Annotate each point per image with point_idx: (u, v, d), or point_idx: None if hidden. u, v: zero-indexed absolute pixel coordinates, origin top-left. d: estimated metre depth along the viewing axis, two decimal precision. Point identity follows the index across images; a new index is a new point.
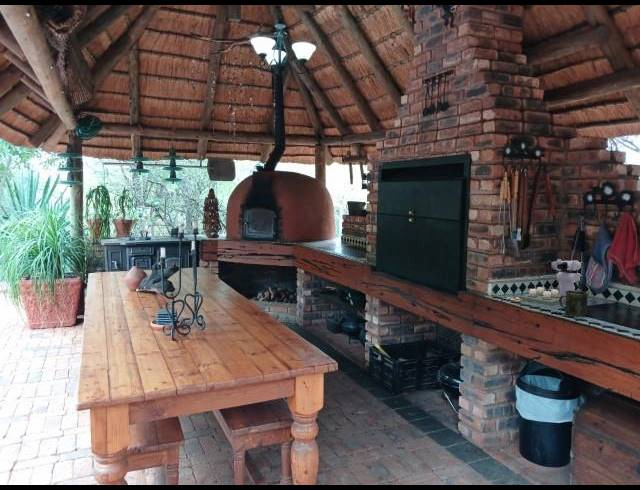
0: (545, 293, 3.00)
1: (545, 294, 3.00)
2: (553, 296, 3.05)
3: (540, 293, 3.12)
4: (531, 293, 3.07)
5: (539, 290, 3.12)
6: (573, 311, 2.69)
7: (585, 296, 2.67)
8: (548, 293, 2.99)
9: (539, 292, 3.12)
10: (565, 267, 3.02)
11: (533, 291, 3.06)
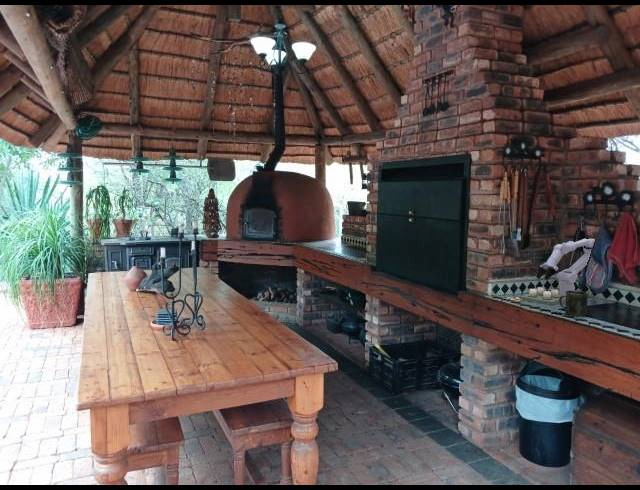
0: (545, 293, 3.00)
1: (545, 294, 3.00)
2: (553, 296, 3.05)
3: (540, 293, 3.12)
4: (531, 293, 3.07)
5: (539, 290, 3.12)
6: (573, 311, 2.69)
7: (585, 296, 2.67)
8: (548, 293, 2.99)
9: (539, 292, 3.12)
10: (553, 271, 3.04)
11: (533, 291, 3.06)
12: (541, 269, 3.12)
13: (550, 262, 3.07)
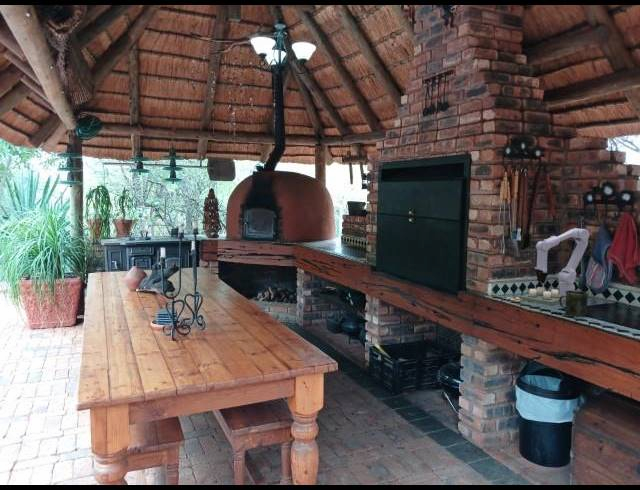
0: (545, 293, 3.00)
1: (545, 294, 3.00)
2: (553, 296, 3.05)
3: (540, 293, 3.12)
4: (531, 293, 3.07)
5: (539, 290, 3.12)
6: (573, 311, 2.69)
7: (585, 296, 2.67)
8: (548, 293, 2.99)
9: (539, 292, 3.12)
10: None
11: (533, 291, 3.06)
12: (538, 272, 3.16)
13: (539, 265, 3.10)
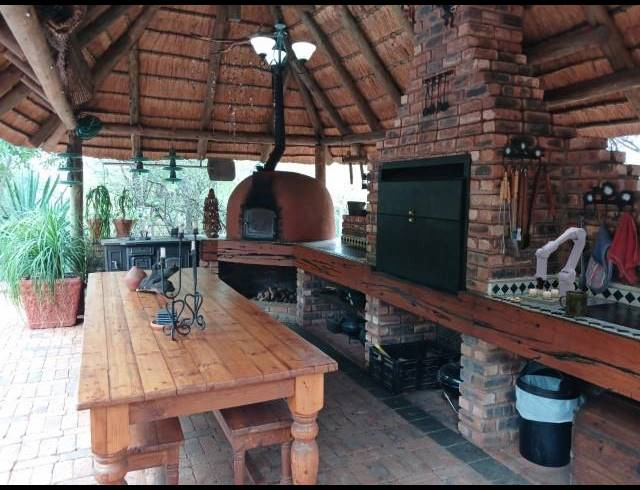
0: (545, 293, 3.00)
1: (545, 294, 3.00)
2: (553, 296, 3.05)
3: (540, 295, 3.12)
4: (531, 293, 3.07)
5: (539, 292, 3.12)
6: (573, 311, 2.69)
7: (585, 296, 2.67)
8: (548, 293, 2.99)
9: (539, 294, 3.12)
10: (542, 279, 3.11)
11: (533, 291, 3.06)
12: None
13: (538, 272, 3.11)
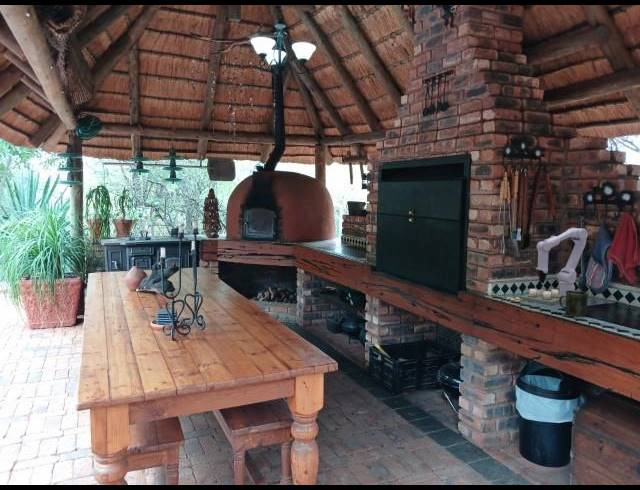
0: (545, 293, 3.00)
1: (545, 294, 3.00)
2: (553, 296, 3.05)
3: None
4: (531, 293, 3.07)
5: (539, 293, 3.12)
6: (573, 311, 2.69)
7: (585, 296, 2.67)
8: (548, 293, 2.99)
9: (539, 295, 3.12)
10: (544, 273, 3.08)
11: (533, 291, 3.06)
12: None
13: (539, 265, 3.08)
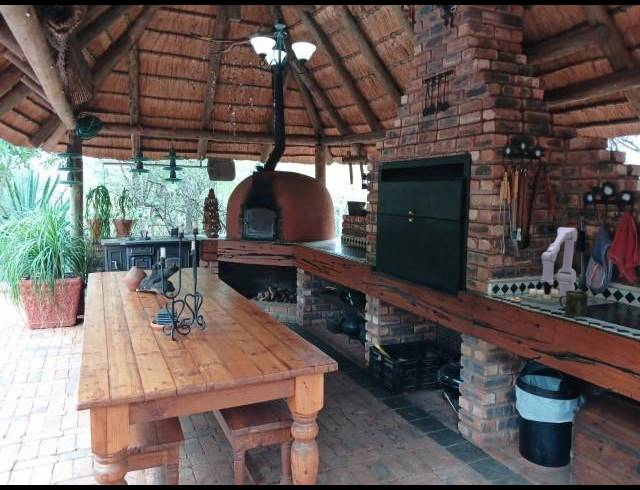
0: (545, 296, 3.00)
1: (545, 297, 3.00)
2: (553, 296, 3.05)
3: None
4: (531, 293, 3.07)
5: (539, 293, 3.12)
6: (573, 311, 2.69)
7: (585, 296, 2.67)
8: (548, 296, 2.99)
9: (539, 295, 3.12)
10: (549, 284, 2.98)
11: (533, 291, 3.06)
12: None
13: (545, 277, 2.98)
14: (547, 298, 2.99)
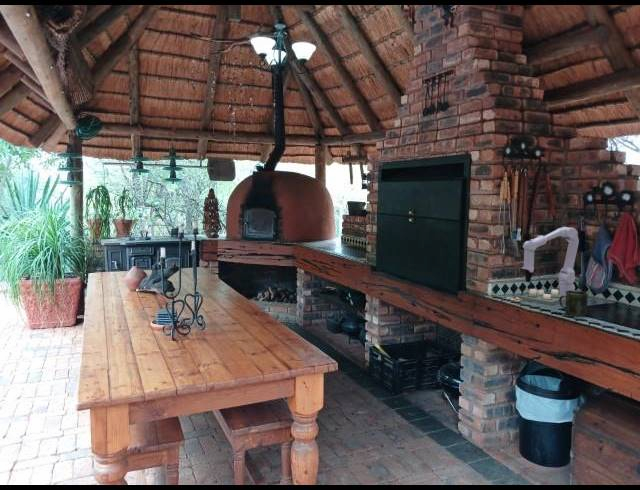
0: (545, 296, 3.00)
1: (545, 297, 3.00)
2: (553, 296, 3.05)
3: None
4: (531, 293, 3.07)
5: (539, 293, 3.12)
6: (573, 311, 2.69)
7: (585, 296, 2.67)
8: (548, 296, 2.99)
9: (539, 295, 3.12)
10: (530, 272, 3.11)
11: (533, 291, 3.06)
12: None
13: (525, 265, 3.11)
14: (547, 298, 2.99)
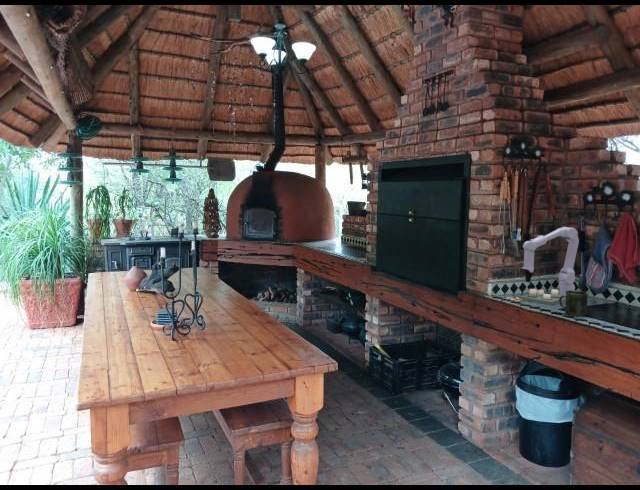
0: (545, 296, 3.00)
1: (545, 297, 3.00)
2: (553, 296, 3.05)
3: None
4: (531, 293, 3.07)
5: (539, 293, 3.12)
6: (573, 311, 2.69)
7: (585, 296, 2.67)
8: (548, 296, 2.99)
9: (539, 295, 3.12)
10: (530, 272, 3.11)
11: (533, 291, 3.06)
12: None
13: (525, 265, 3.11)
14: (547, 298, 2.99)
